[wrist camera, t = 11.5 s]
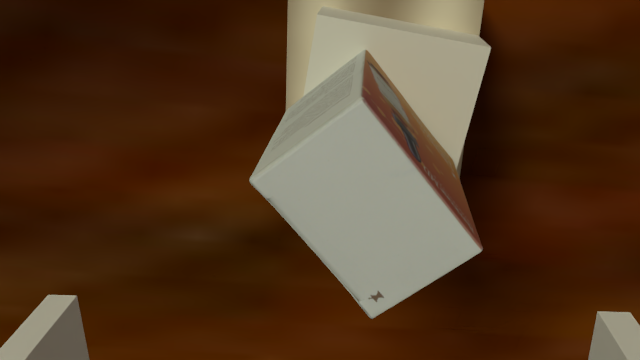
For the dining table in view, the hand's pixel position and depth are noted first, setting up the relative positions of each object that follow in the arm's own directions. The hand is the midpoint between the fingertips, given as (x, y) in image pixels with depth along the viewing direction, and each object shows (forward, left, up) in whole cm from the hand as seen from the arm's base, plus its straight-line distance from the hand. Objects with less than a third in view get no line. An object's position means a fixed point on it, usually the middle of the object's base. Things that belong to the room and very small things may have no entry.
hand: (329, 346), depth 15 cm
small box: (+1, 0, -19) cm, 19 cm away
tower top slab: (+2, 0, -23) cm, 23 cm away
